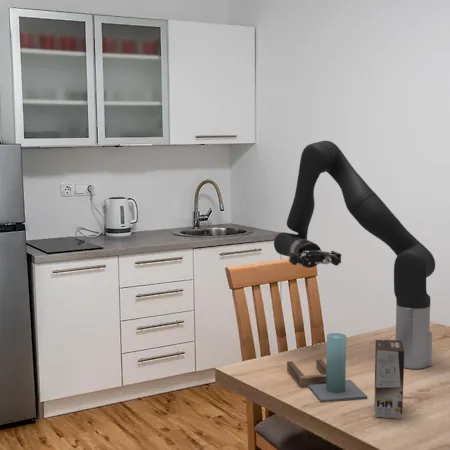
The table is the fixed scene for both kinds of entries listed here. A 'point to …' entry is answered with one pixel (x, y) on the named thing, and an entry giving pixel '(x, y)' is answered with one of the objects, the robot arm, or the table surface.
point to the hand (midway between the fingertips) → (322, 262)
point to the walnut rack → (308, 380)
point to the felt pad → (349, 394)
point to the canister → (336, 362)
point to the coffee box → (389, 378)
